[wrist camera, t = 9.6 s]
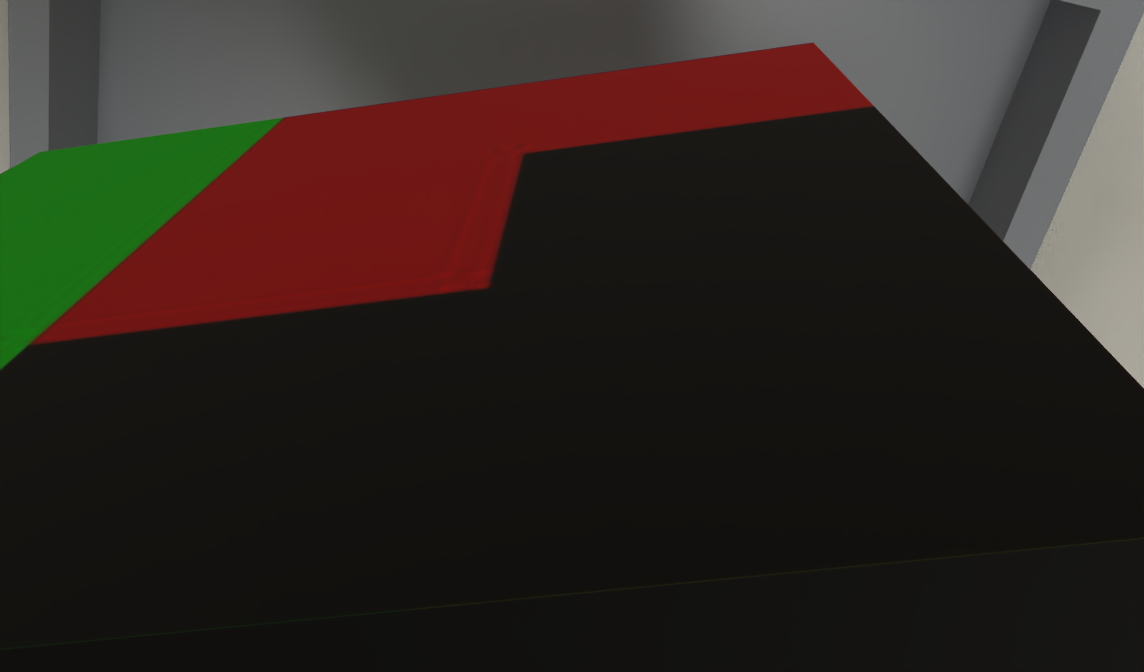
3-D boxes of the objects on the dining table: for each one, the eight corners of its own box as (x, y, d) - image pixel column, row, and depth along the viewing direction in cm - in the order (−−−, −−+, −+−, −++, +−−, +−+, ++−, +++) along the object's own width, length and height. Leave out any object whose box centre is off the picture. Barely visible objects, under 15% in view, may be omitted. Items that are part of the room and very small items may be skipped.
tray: (80, -289, 21) (5, -305, 19) (1093, -42, 23) (1159, -23, 20) (69, 378, 28) (12, 437, 25) (855, 537, 30) (879, 609, 27)
